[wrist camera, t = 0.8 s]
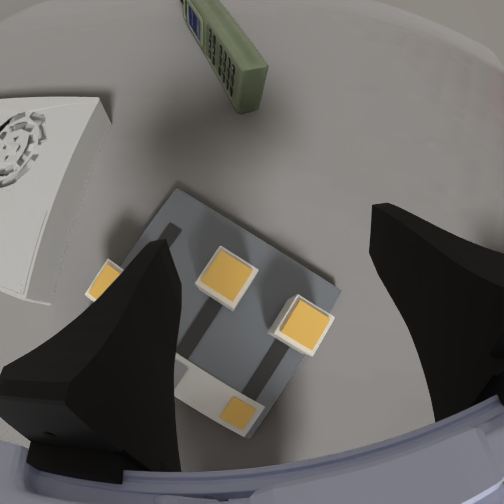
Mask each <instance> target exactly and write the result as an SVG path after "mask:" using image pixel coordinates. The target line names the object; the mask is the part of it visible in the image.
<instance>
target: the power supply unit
mask: <svg viewBox="0 0 504 504" xmlns="http://www.w3.org/2000/svg"><path fill="white" fill-rule="evenodd" d="M111 126H112V124H111V122H110V120H109V118H108V116H107V114H106V112H105V109H104V107H103V105H102V103H101V101H100V99H99V97H25V98H7V99H0V291H2V292H4V293H7V294H9V295H11V296H14V297H16V298H19V299H21V300H24V301H29V302H34V303H39V304H45V305H51V304H52V301H53V296H54V292H55V288H56V283H57V279H58V275H59V271H60V268H61V264H62V260H63V256H64V253H65V249H66V246H67V242H68V239H69V236H70V232H71V229H72V226H73V223H74V220H75V217H76V214H77V211H78V208H79V205H80V202H81V199H82V197H83V194H84V191H85V188H86V186H87V183H88V180H89V178H90V175H91V173H92V170H93V168H94V165H95V163H96V160H97V158H98V155H99V153H100V151H101V148H102V146H103V144H104V142H105V139H106V137H107V135H108V133H109V130H110V128H111Z"/></svg>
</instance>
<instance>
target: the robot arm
mask: <svg viewBox="0 0 504 504" xmlns="http://www.w3.org/2000/svg"><path fill="white" fill-rule="evenodd" d="M369 254H370V256H371V258H372V261H373V263H374V266H375V268H376V270H377V273H378V275H379V277H380V279H381V280H382V282H383V284H384V286H385V287H386V289H387V291H388V292H389V294H390V296H391V298H392V299H393V301H394V303H395V305H396V306H397V308H398V310H399V312H400V314H401V315H402V317H403V319H404V321H405V323H406V325H407V327H408V329H409V331H410V334H411V336H412V339H413V342H414V344H415V347H416V350H417V352H418V355H419V358H420V361H421V365H422V368H423V371H424V374H425V378H426V381H427V385H428V389H429V393H430V397H431V402H432V406H433V412H434V417H435V423H433V424H430V425H428V426H425V427H422V428H420V429H417V430H414V431H412V432H409V433H406V434H403V435H400V436H397V437H394V438H391V439H388V440H384V441H381V442H378V443H374V444H371V445H367V446H364V447H360V448H356V449H353V450H349V451H345V452H340V453H336V454H332V455H327V456H323V457H318V458H313V459H308V460H302V461H297V462H291V463H285V464H278V465H271V466H263V467H255V468H246V469H235V470H222V471H203V472H181V466H180V459H179V452H178V444H177V433H176V421H175V401H174V366H175V356H176V348H177V340H178V333H179V325H180V318H181V310H182V283H181V281H180V278H179V275H178V272H177V269H176V267H175V264H174V261H173V258H172V255H171V252H170V249H169V246H168V243H167V240H166V239H161V240H155V241H150V242H149V243H148V244H146V245H145V247H144V248H143V249H142V250H141V251H140V252H139V253H138V254H137V255H136V257H135V258H134V259H133V260H132V261H131V262H130V264H129V265H128V266H127V267H126V268H125V269H124V270H123V272H122V273H121V274H120V275H119V276H118V277H117V278H116V279H115V281H114V282H113V283H112V284H111V285H110V286H109V287H108V288H107V289H106V290H105V291H104V292H103V294H102V295H101V296H100V297H99V298H98V299H97V300H96V301H95V302H94V303H93V304H92V305H90V306H89V307H88V308H87V309H86V310H85V311H84V312H83V313H82V314H81V315H79V316H78V317H77V318H76V319H75V320H73V321H72V322H71V323H70V324H68V325H67V326H66V327H65V328H63V329H62V330H61V331H60V332H59V333H57V334H56V335H54V336H53V337H52V338H50V339H49V340H47V341H46V342H45V343H43V344H42V345H40V346H39V347H37V348H36V349H34V350H32V351H31V352H29V353H27V354H26V355H24V356H22V357H20V358H19V359H17V360H15V361H13V362H12V363H10V364H8V365H6V366H4V367H3V369H2V372H1V374H0V417H1V418H2V419H3V420H4V421H5V422H7V423H8V424H9V425H10V426H12V427H13V428H14V429H15V430H17V431H18V432H19V433H21V434H22V435H23V436H24V437H26V438H27V439H28V440H30V441H31V443H30V447H29V449H27V448H25V447H23V446H20V445H17V444H13V443H9V442H5V441H1V440H0V504H504V484H503V481H504V254H503V253H500V252H496V251H493V250H490V249H488V248H485V247H482V246H480V245H477V244H475V243H472V242H470V241H467V240H465V239H462V238H460V237H458V236H456V235H454V234H452V233H450V232H447V231H445V230H443V229H441V228H439V227H437V226H435V225H433V224H431V223H429V222H427V221H425V220H423V219H421V218H420V217H418V216H416V215H414V214H412V213H410V212H408V211H406V210H404V209H402V208H399V207H397V206H395V205H392V204H390V203H382V204H375V205H372V218H371V234H370V247H369ZM224 499H229V500H228V501H224V502H219V501H218V500H224Z"/></svg>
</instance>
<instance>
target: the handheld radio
mask: <svg viewBox="0 0 504 504" xmlns="http://www.w3.org/2000/svg"><path fill="white" fill-rule="evenodd" d="M181 2H182V3H183V5H184V19H185V21H186V22H187V24H188V26H189V28H190V29H191V31H192V33H193V34H194V36H195V38H196V40H197V41H198V43H199V45H200V47H201V49H202V50H203V52H204V54H205V56H206V57H207V59H208V61H209V63H210V64H211V66H212V68H213V70H214V72H215V73H216V75H217V77H218V79H219V80H220V82H221V84H222V86H223V88H224V89H225V91H226V93H227V95H228V97H229V98H230V100H231V102H232V104H233V106H234V108H235V109H236V111H237V113H239V114H245V113H248V112H251V111H255V110H257V109H258V107H259V104H260V101H261V97H262V93H263V88H264V84H265V79H266V75H267V70H268V64H267V63H266V62H265V60H264V59H263V57H262V56H261V54H260V53H259V52H258V50H257V49H256V48H255V46H254V45H253V43H252V42H251V41H250V39H249V38H248V37H247V36H246V34H245V33H244V32H243V30H242V29H241V28H240V26H239V25H238V24H237V22H236V21H235V20H234V18H233V17H232V16H231V15H230V13H229V12H228V11H227V10H226V8H225V7H224V6H223V5H222V3H221V2H220V1H219V0H181Z"/></svg>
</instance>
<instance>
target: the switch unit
mask: <svg viewBox="0 0 504 504" xmlns="http://www.w3.org/2000/svg"><path fill="white" fill-rule="evenodd" d="M161 239H166V240H167V243H168V246H169V249H170V252H171V255H172V258H173V261H174V264H175V267H176V269H177V272H178V275H179V278H180V281H181V283H182V310H181V318H180V325H179V333H178V340H177V348H176V356H175V366H174V396H175V397H176V398H178V399H180V400H181V401H183V402H184V403H186V404H187V405H189V406H191V407H192V408H194V409H196V410H197V411H199V412H200V413H202V414H204V415H205V416H207V417H209V418H211V419H212V420H214V421H216V422H217V423H219V424H221V425H223V426H224V427H226V428H228V429H230V430H232V431H234V432H235V433H237V434H239V435H241V436H243V437H246V438H248V439H250V438H251V437H252V435H253V434H254V432H255V431H256V430H257V428H258V427H259V425H260V424H261V422H262V421H263V419H264V418H265V416H266V415H267V414H268V412H269V411H270V409H271V408H272V406H273V405H274V403H275V402H276V400H277V399H278V397H279V395H280V394H281V392H282V391H283V389H284V388H285V386H286V385H287V383H288V381H289V380H290V378H291V377H292V375H293V374H294V372H295V370H296V369H297V367H298V366H299V364H300V362H301V361H302V359H303V357H304V356H305V354H302V353H300V352H298V351H296V350H295V349H293V348H291V347H290V346H288V345H286V344H285V343H283V342H281V341H280V340H278V339H276V338H275V337H273V336H271V335H270V334H268V333H267V332H268V331H269V329H270V328H271V326H272V324H273V323H274V321H275V320H276V318H277V316H278V315H279V313H280V311H281V310H282V308H283V306H284V305H285V303H286V302H287V300H288V299H289V298H291V297H293V296H295V295H297V294H298V295H300V296H301V297H303V298H305V299H306V300H308V301H309V302H311V303H313V304H314V305H316V306H317V307H319V308H321V309H322V310H324V311H326V312H327V313H330V311H331V309H332V308H333V306H334V304H335V302H336V300H337V298H338V297H339V295H340V293H341V291H342V290H340V289H339V288H337V287H335V286H334V285H332V284H331V283H329V282H328V281H326V280H324V279H323V278H321V277H320V276H318V275H317V274H315V273H313V272H312V271H310V270H309V269H307V268H305V267H304V266H302V265H301V264H299V263H298V262H296V261H294V260H293V259H291V258H290V257H288V256H286V255H285V254H283V253H282V252H280V251H279V250H277V249H275V248H274V247H272V246H271V245H269V244H267V243H266V242H264V241H263V240H261V239H259V238H258V237H256V236H255V235H253V234H251V233H250V232H248V231H247V230H245V229H243V228H242V227H240V226H238V225H237V224H235V223H234V222H232V221H230V220H229V219H227V218H226V217H224V216H222V215H221V214H219V213H217V212H216V211H214V210H213V209H211V208H209V207H208V206H206V205H204V204H203V203H201V202H200V201H198V200H196V199H195V198H193V197H191V196H190V195H188V194H187V193H185V192H183V191H182V190H180V189H178V188H176V189H175V190H174V192H173V193H172V194H171V196H170V197H169V198H168V200H167V201H166V202H165V204H164V205H163V206H162V208H161V209H160V210H159V212H158V213H157V214H156V216H155V217H154V218H153V220H152V221H151V223H150V224H149V225H148V227H147V228H146V230H145V231H144V232H143V234H142V235H141V237H140V238H139V239H138V241H137V242H136V244H135V245H134V247H133V248H132V249H131V251H130V252H129V254H128V255H127V257H126V258H125V260H124V261H123V263H122V264H121V266H120V267H122V268H123V269H125V268H126V267H127V266H128V265H129V264H130V262H131V261H132V260H133V259H134V258H135V257H136V255H137V254H138V253H139V252H140V251H141V250H142V249H143V248H144V247H145V245H146V244H148V243H149V242H150V241H155V240H161ZM220 246H222V247H224V248H225V249H227V250H228V251H230V252H231V253H233V254H235V255H236V256H238V257H239V258H241V259H243V260H244V261H246V262H247V263H249V264H250V265H252V266H254V267H255V268H257V269H258V270H259V271H258V272H257V274H256V276H255V278H254V280H253V281H252V283H251V284H250V286H249V287H248V289H247V291H246V292H245V294H244V295H243V297H242V298H241V300H240V302H239V303H238V305H237V306H236V308H235V309H234V311H231V310H230V309H228V308H227V307H225V306H223V305H222V304H220V303H219V302H217V301H216V300H214V299H213V298H211V297H209V296H208V295H206V294H205V293H203V292H202V291H200V290H199V289H198V287H197V286H196V284H195V282H196V281H197V279H198V278H199V276H200V275H201V273H202V272H203V270H204V269H205V267H206V266H207V264H208V263H209V261H210V260H211V258H212V257H213V255H214V254H215V252H216V251H217V249H218V248H219V247H220Z"/></svg>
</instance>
